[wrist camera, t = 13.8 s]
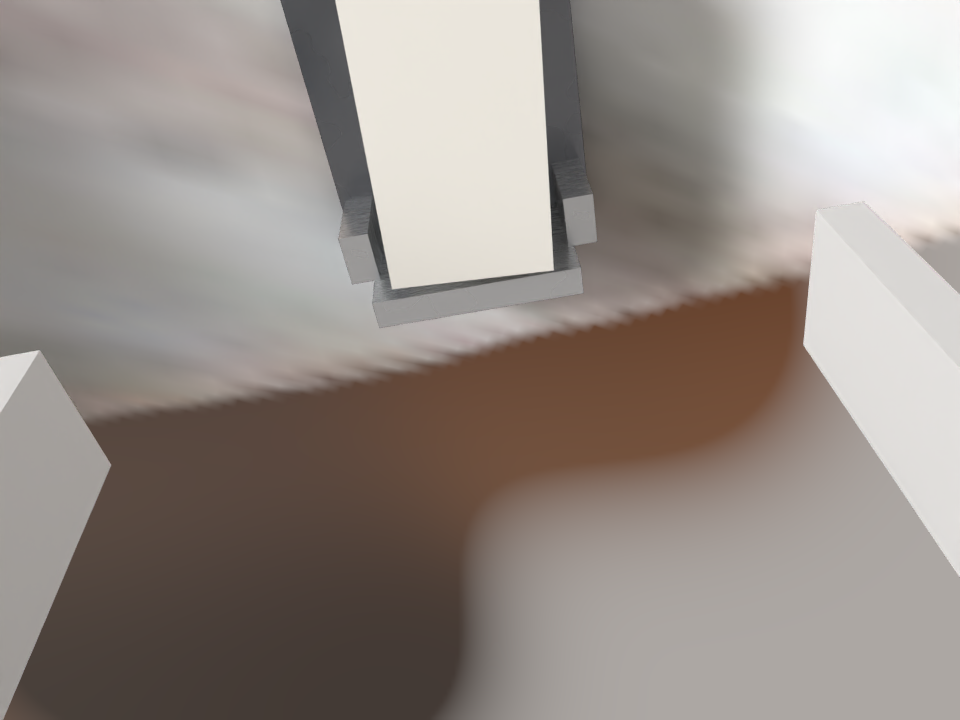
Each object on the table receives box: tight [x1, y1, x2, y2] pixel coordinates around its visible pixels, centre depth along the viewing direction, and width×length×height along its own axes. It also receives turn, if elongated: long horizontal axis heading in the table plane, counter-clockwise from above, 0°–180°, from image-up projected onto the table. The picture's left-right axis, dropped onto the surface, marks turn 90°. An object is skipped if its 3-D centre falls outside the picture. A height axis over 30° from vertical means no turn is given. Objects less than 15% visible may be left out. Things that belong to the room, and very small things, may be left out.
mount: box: [281, 0, 597, 328], centre depth 25 cm, size 14×9×6 cm, turn 10°
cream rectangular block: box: [335, 0, 554, 289], centre depth 24 cm, size 10×5×6 cm, turn 6°
